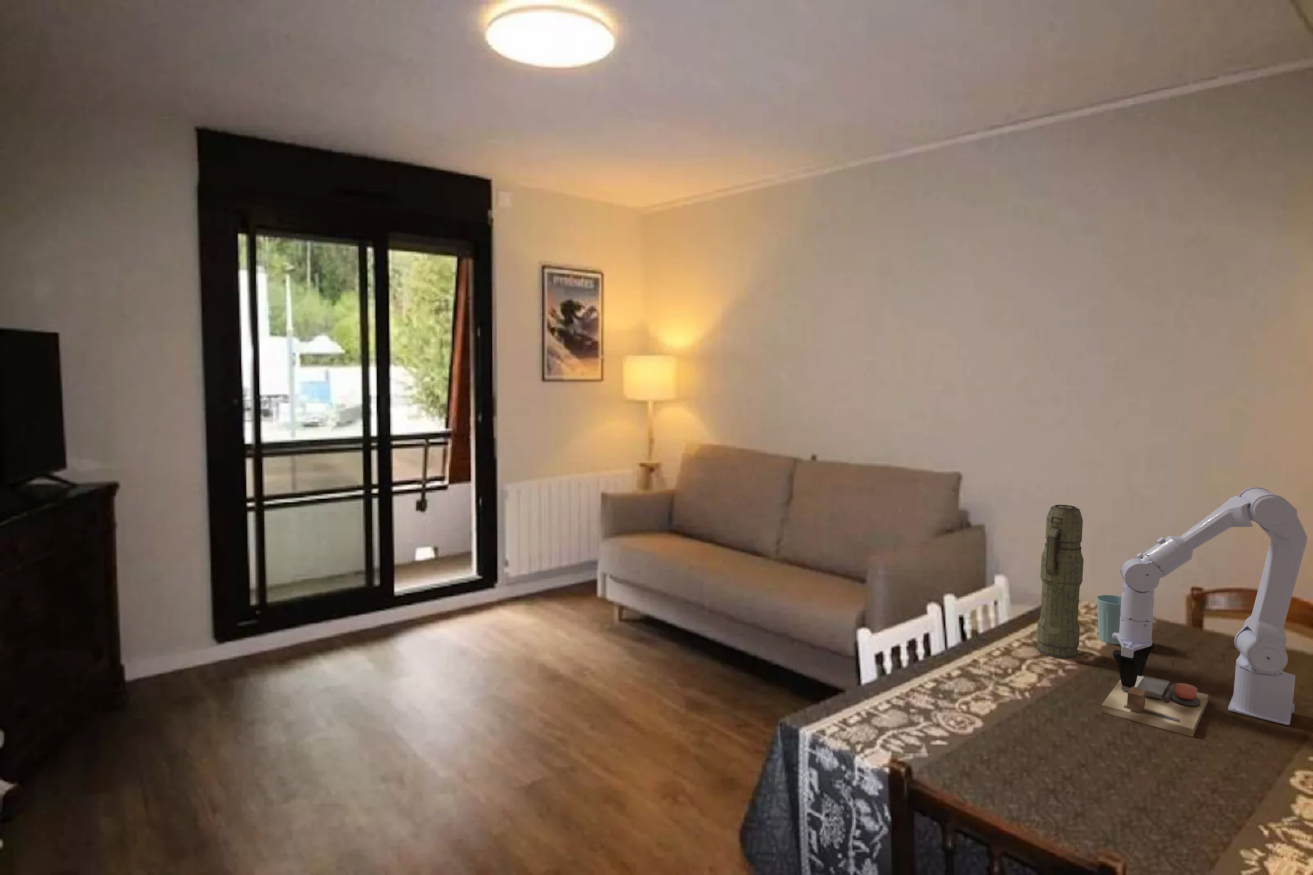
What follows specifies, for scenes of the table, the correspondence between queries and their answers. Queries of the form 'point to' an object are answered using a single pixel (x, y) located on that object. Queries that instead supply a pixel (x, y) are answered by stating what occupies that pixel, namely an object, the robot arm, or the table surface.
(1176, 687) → the push button
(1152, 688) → the paddle switch
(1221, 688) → the table surface
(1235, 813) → the table surface
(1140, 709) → the slider knob
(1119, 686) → the control panel
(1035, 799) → the table surface
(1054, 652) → the thermos
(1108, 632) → the cup
